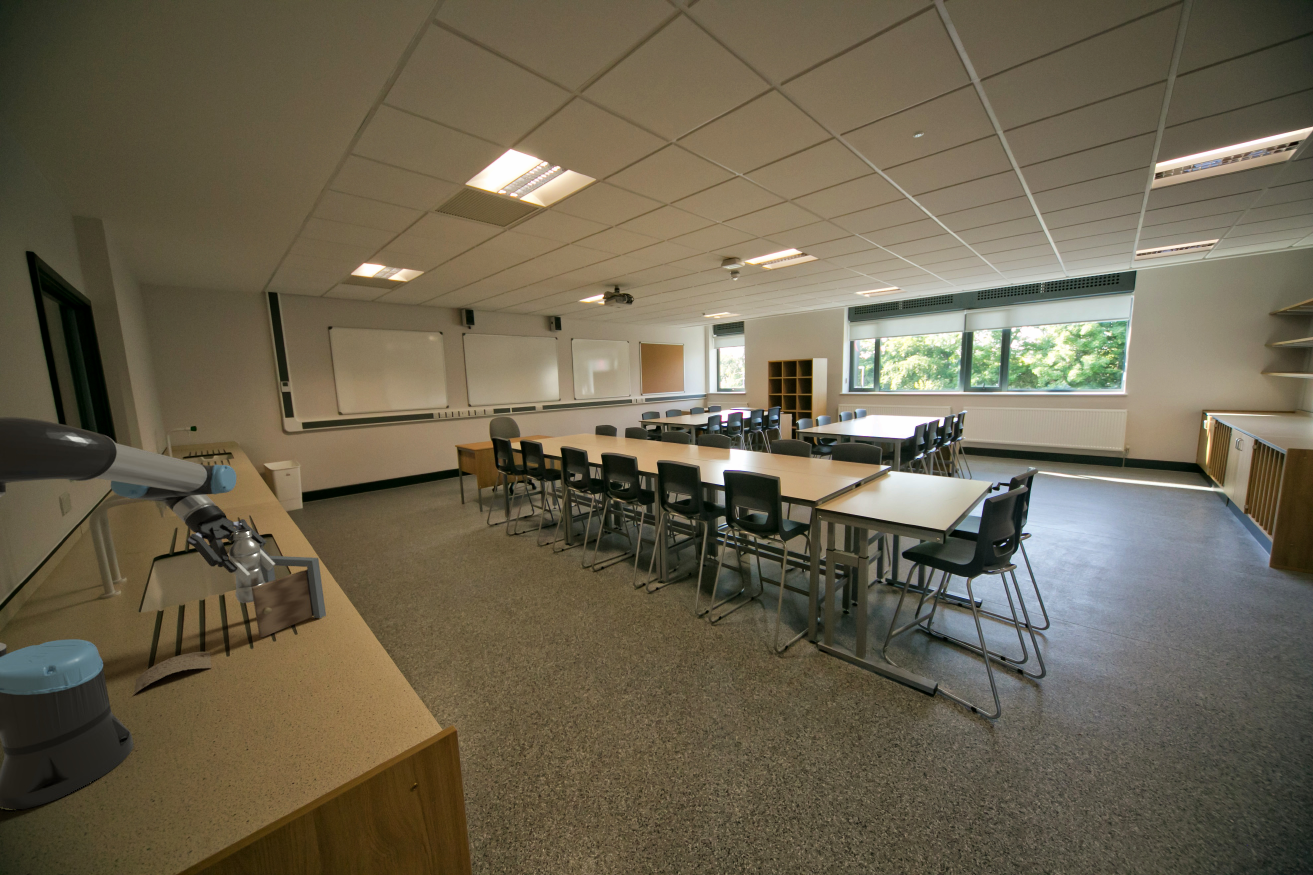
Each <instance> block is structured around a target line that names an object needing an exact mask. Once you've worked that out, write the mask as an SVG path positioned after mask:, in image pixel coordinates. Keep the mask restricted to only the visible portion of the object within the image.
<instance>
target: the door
mask: <svg viewBox="0 0 1313 875" xmlns="http://www.w3.org/2000/svg"><path fill="white" fill-rule="evenodd" d="M252 593H253V600H254V602H253V606H254V610H255V611H254V612H255V618H256V625H257V629H258V630H257V631H258V636H259V637H260V638H264V637H267V636H269V635H271V634H273V633H277V632H278V631H281V630H283V629H286V628H288V627H291V626H294V625H295V624H297V623H300V622H303V621H305V620H307V619H310V618H312V617H314V613H313V606H312V599H311V592H310V585H309V577H308V570H307V569H305V570H300V571H297V572H294V573H292V574H289V575H285V576H283V577H280V578H277V579H276V578H275V580H273V581H270V582H267V583H264V584H261V585H258V586H255V587H252Z"/></svg>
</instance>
